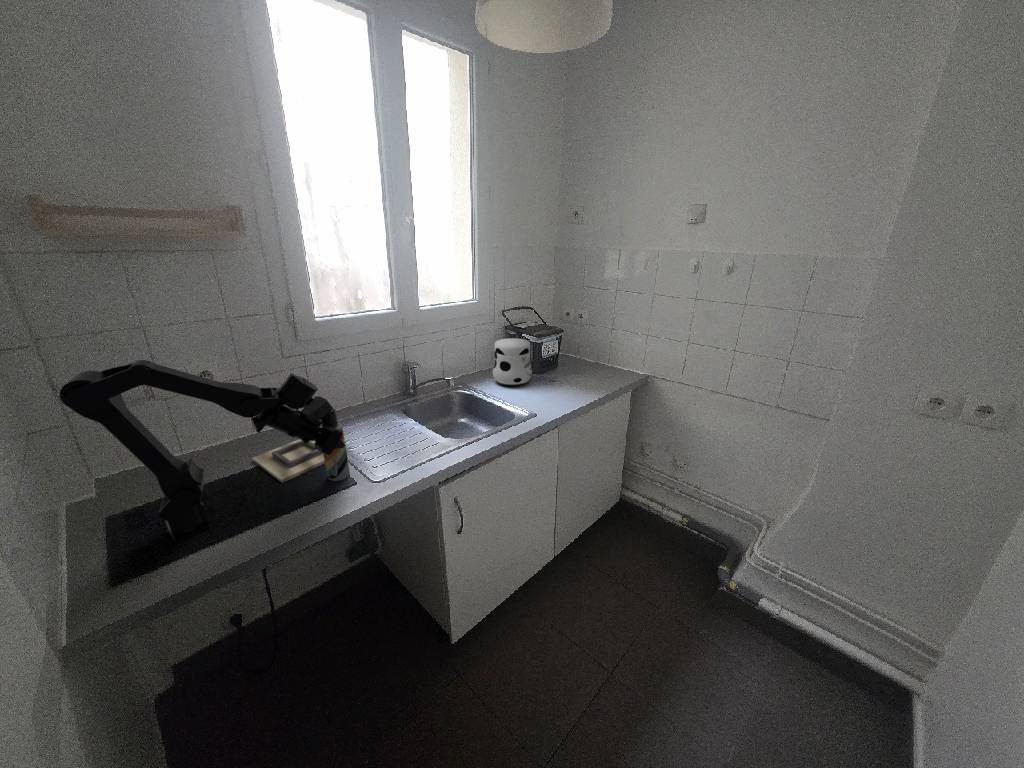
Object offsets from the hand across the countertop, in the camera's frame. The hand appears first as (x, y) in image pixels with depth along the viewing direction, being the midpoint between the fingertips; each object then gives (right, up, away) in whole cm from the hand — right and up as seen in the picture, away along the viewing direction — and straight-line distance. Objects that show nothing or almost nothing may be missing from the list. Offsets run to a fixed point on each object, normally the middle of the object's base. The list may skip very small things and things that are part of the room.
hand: (338, 442), depth 107 cm
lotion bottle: (-1, -10, +2) cm, 10 cm away
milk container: (+47, +17, +70) cm, 86 cm away
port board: (-16, -6, +11) cm, 21 cm away
